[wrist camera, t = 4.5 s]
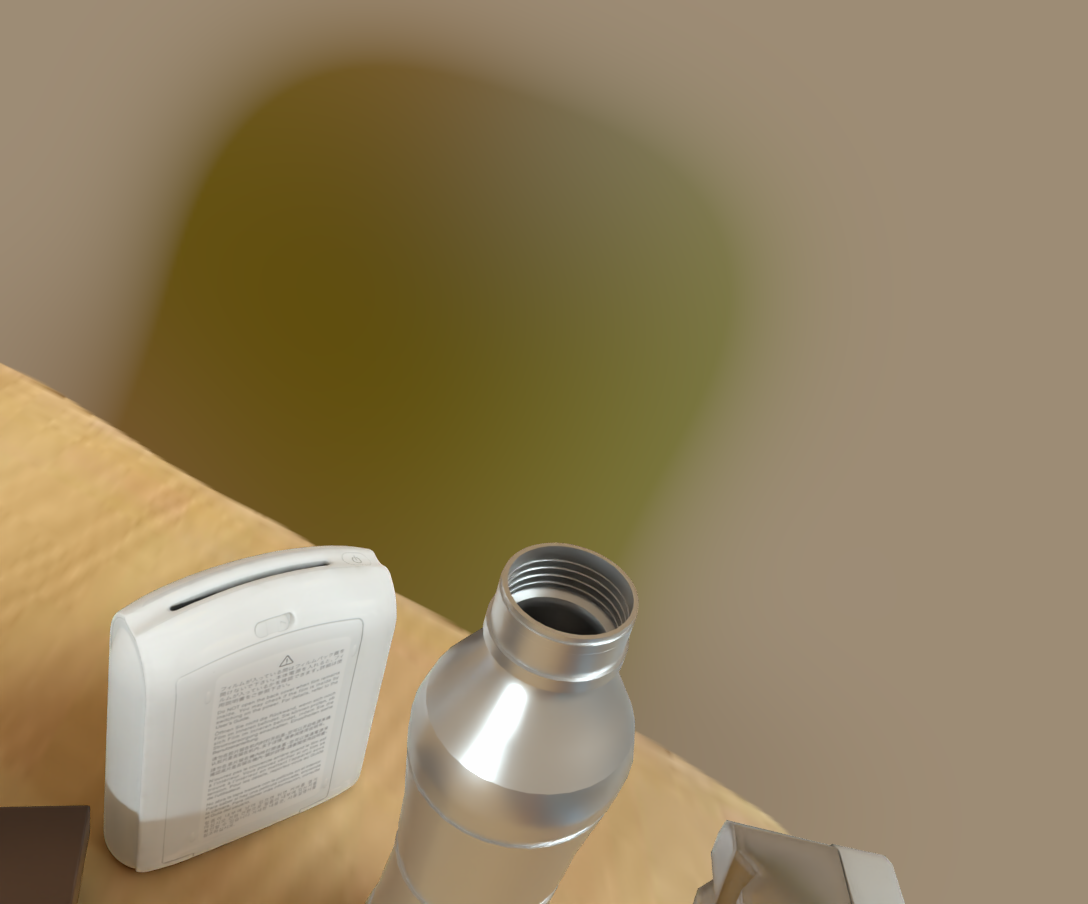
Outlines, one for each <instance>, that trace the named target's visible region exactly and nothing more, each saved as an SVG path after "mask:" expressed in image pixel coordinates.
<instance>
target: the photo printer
mask: <svg viewBox="0 0 1088 904" xmlns="http://www.w3.org/2000/svg"><path fill="white" fill-rule="evenodd" d="M395 625H396V596H395V591H394V586H393V582H392V579H391V575H390V573H389V571H388V569H387V568H386V567H385V566H383V565H382V564H381V563H380V562H379V561H378V560H377V558H376V556H375V554H374V552H373V551H372V550H370V549H366V548H359V547H350V546H313V547H303V548H295V549H287V550H281V551H275V552H270V553H265V554H260V555H256V556H252V557H248V558H244V559H240V560H236V561H232V562H229V563H226V564H223V565H219V566H216V567H213V568H209V569H207V570H204V571H201V572H198V573H195V574H192V575H190V576H187V577H185V578H182V579H180V580H177V581H175V582H172V583H170V584H168V585H166V586H163V587H161V588H159V589H157V590H154V591H153V592H151V593H149V594H147V595H145V596H143V597H141V598H139V599H138V600H136V601H134V602H132V603H131V604H129V605H128V606H126V607H125V608H123V609H121V610H120V611H118V612H117V613H116V614H115V615H114V617H113V619H112V622H111V627H110V652H109V674H108V705H107V735H106V766H105V795H104V838H105V841H106V845H107V847H108V849H109V850H110V852H111V853H112V854H113V856H114V857H115V858H116V859H117V860H119V861H120V862H121V863H123V864H125V865H126V866H129V867H131V868H135V869H136V871H137V872H148V871H152V870H156V869H160V868H163V867H167V866H170V865H174V864H176V863H179V862H182V861H184V860H187V859H190V858H192V857H194V856H197V855H199V854H202V853H204V852H207V851H210V850H212V849H215V848H217V847H219V846H222V845H224V844H227V843H229V842H232V841H234V840H237V839H239V838H242V837H244V836H246V835H249V834H251V833H254V832H256V831H258V830H261V829H263V828H266V827H268V826H270V825H273V824H275V823H277V822H279V821H282V820H284V819H287V818H289V817H292V816H294V815H296V814H298V813H301V812H304V811H306V810H308V809H310V808H312V807H314V806H316V805H319V804H321V803H323V802H325V801H327V800H329V799H331V798H333V797H335V796H337V795H339V794H341V793H342V792H344V791H346V790H347V789H349V788H350V787H351V786H353V785H354V784H355V783H356V781H357V780H358V778H359V775H360V772H361V769H362V764H363V760H364V755H365V751H366V747H367V742H368V738H369V734H370V730H371V726H372V721H373V717H374V712H375V708H376V704H377V700H378V696H379V692H380V687H381V683H382V679H383V675H384V671H385V667H386V662H387V658H388V654H389V650H390V646H391V642H392V638H393V634H394V630H395Z"/></svg>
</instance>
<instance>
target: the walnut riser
mask: <svg viewBox="0 0 1088 904" xmlns="http://www.w3.org/2000/svg"><path fill="white" fill-rule="evenodd" d="M89 834H90V806H88V805H84V806H32V807H0V904H77V902H78V896H79V891H80V885H81V879H82V873H83V868H84V862H85V856H86V851H87V845H88V840H89Z"/></svg>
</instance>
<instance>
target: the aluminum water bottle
mask: <svg viewBox="0 0 1088 904" xmlns="http://www.w3.org/2000/svg"><path fill="white" fill-rule="evenodd" d="M638 603H639V600H638V595H637V591H636V589H635V587H634V585H633V582H632V581H631V580H630V578H629V577H628V576H627V574H626V573H625V572H624V571H623V570H622V569H621V568H620V567H619V566H617V565H616V564H615V563H613V562H612V561H611V560H609V559H608V558H606V557H604V556H602V555H600V554H599V553H596V552H594V551H591V550H589V549H586V548H584V547H580V546H576V545H572V544H564V543H543V544H537V545H533V546H530V547H527V548H524V549H523V550H521V551H519V552H517V553H516V554H515V555H514V556H512V557H511V558H510V559H509V561H508V562H507V564H506V565H505V567H504V569H503V571H502V573H501V576H500V580H499V584H498V587H497V591H496V594H495V595H494V597H493V598H492V600H491V602H490V603H489V605H488V609H487V613H486V617H485V620H484V624H483V628H481V629H480V630H478V631H476V632H475V633H473V634H471V635H470V636H468V637H466V638H465V639H463V640H462V641H460V642H458V643H457V644H455V645H454V646H452V647H451V648H450V649H449V650H448V651H447V652H446V653H444V654H443V655H442V656H441V657H440V658H439V660H438V661H437V662H436V664H435V665H434V666H433V668H432V669H431V670H430V672H429V673H428V674H427V676H426V677H425V679H424V680H423V682H422V684H421V685H420V687H419V688H418V690H417V692H416V696H415V699H414V702H413V705H412V709H411V716H410V721H409V727H408V740H407V761H406V777H405V794H404V799H403V804H402V809H401V814H400V818H399V824H398V830H397V834H396V838H395V844H394V847H393V849H392V852H391V854H390V856H389V859H388V861H387V863H386V866H385V868H384V870H383V873H382V875H381V877H380V880H379V882H378V884H377V885H376V886H375V888H374V889H373V891H372V892H371V893H370V895H369V897H368V899H367V901H366V902H365V904H549V903H550V900H551V898H552V896H553V895H554V893H555V891H556V889H557V887H558V884H559V882H560V881H561V879H562V878H563V876H564V874H565V872H566V870H567V868H568V867H569V865H570V863H571V861H572V859H573V857H574V855H575V854H576V852H577V851H578V850H579V848H580V847H581V846H582V844H583V843H584V841H585V840H586V839H587V837H588V836H589V835H590V833H591V832H592V830H593V829H594V828H595V826H596V825H597V824H598V822H599V821H600V820H601V818H602V817H603V815H604V814H605V812H607V810H608V809H609V807H610V806H611V804H612V803H613V801H614V800H615V798H616V796H617V795H618V793H619V791H620V789H621V787H622V786H623V784H624V782H625V781H626V779H627V777H628V774H629V771H630V768H631V765H632V762H633V753H634V734H635V719H634V713H633V707H632V704H631V701H630V699H629V696H628V694H627V692H626V689H625V686H624V684H623V681H622V679H621V676H620V674H619V670H620V669H621V666H622V664H623V661H624V658H625V656H626V653H627V651H628V645H629V635H630V633H631V630H632V628H633V625H634V623H635V620H636V618H637V611H638Z"/></svg>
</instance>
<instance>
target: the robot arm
mask: <svg viewBox="0 0 1088 904" xmlns="http://www.w3.org/2000/svg"><path fill="white" fill-rule="evenodd" d="M711 859H712V872H713V880H711V881H710V882H708V883H706V884H705V885H703V886H702V887H700V888H698V890H697V893H696V896H695V899H694V902H693V904H905V902H904V899H903V896H902V893H901V890H900V887H899V884H898V881H897V877H896V874H895V871H894V868H893V865H892V863H891V862H890V861H889V860H888V859H887V858H886V857H885V856H884V855H880V854H876V853H871V852H866V851H862V850H857V849H853V848H848V847H843V846H839V845H835V844H832V845H827V844H823V843H819V842H815V841H810V840H807V839H803V838H798V837H794V836H790V835H786V834H782V833H778V832H774V831H769V830H765V829H761V828H757V827H753V826H749V825H745V824H740V823H736V822H732V821H728V820H726V822H725V823H724V825H723V826H722V828H721V829H720V831H719V833H718V836H717V838H716V841H715V843H714V846H713V849H712V851H711Z"/></svg>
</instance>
